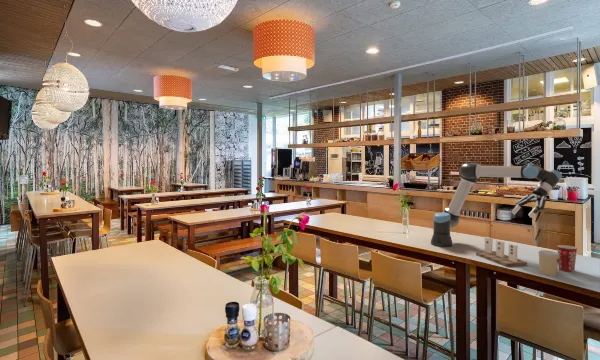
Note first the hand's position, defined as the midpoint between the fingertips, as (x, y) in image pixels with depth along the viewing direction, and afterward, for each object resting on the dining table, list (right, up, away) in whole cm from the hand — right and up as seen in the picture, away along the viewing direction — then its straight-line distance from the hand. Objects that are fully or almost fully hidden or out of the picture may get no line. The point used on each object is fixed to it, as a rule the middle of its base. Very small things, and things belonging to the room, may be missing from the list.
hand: (521, 214), depth 218 cm
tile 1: (-17, -26, +9) cm, 32 cm away
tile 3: (-13, -27, -11) cm, 32 cm away
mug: (+11, -30, -22) cm, 39 cm away
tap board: (-14, -28, -1) cm, 32 cm away
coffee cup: (-2, -30, -27) cm, 40 cm away
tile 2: (-15, -26, -1) cm, 30 cm away
